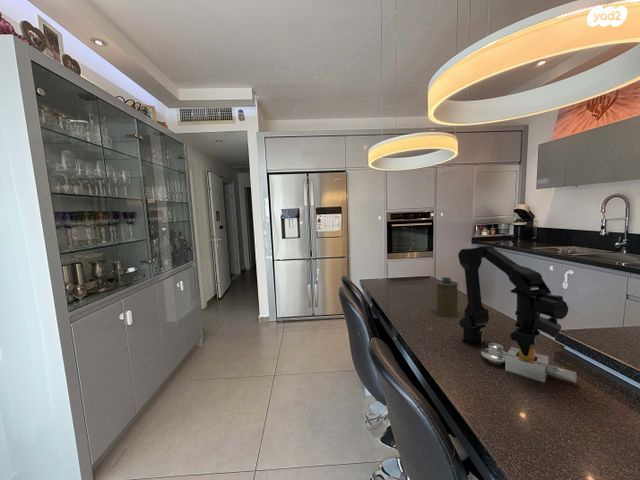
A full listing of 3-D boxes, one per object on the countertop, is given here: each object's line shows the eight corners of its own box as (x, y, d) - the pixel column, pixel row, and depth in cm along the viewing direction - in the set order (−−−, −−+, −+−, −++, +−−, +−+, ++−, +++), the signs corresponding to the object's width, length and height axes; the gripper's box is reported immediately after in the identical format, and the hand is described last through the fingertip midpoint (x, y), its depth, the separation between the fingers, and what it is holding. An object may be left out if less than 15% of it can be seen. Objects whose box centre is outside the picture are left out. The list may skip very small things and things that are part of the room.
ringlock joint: (478, 362, 98) (478, 346, 97) (485, 352, 104) (485, 337, 103) (575, 392, 79) (575, 372, 79) (576, 378, 86) (577, 360, 85)
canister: (435, 315, 146) (434, 278, 144) (438, 309, 154) (438, 275, 153) (457, 318, 140) (457, 280, 138) (459, 312, 148) (459, 276, 147)
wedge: (518, 368, 92) (519, 345, 91) (519, 365, 93) (520, 343, 93) (533, 372, 89) (534, 349, 88) (534, 369, 91) (535, 347, 90)
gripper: (556, 322, 77) (555, 374, 78) (561, 306, 90) (560, 350, 92) (510, 314, 85) (509, 361, 86) (521, 300, 98) (520, 341, 99)
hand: (526, 353), depth 91 cm, fingers open, 3 cm apart
